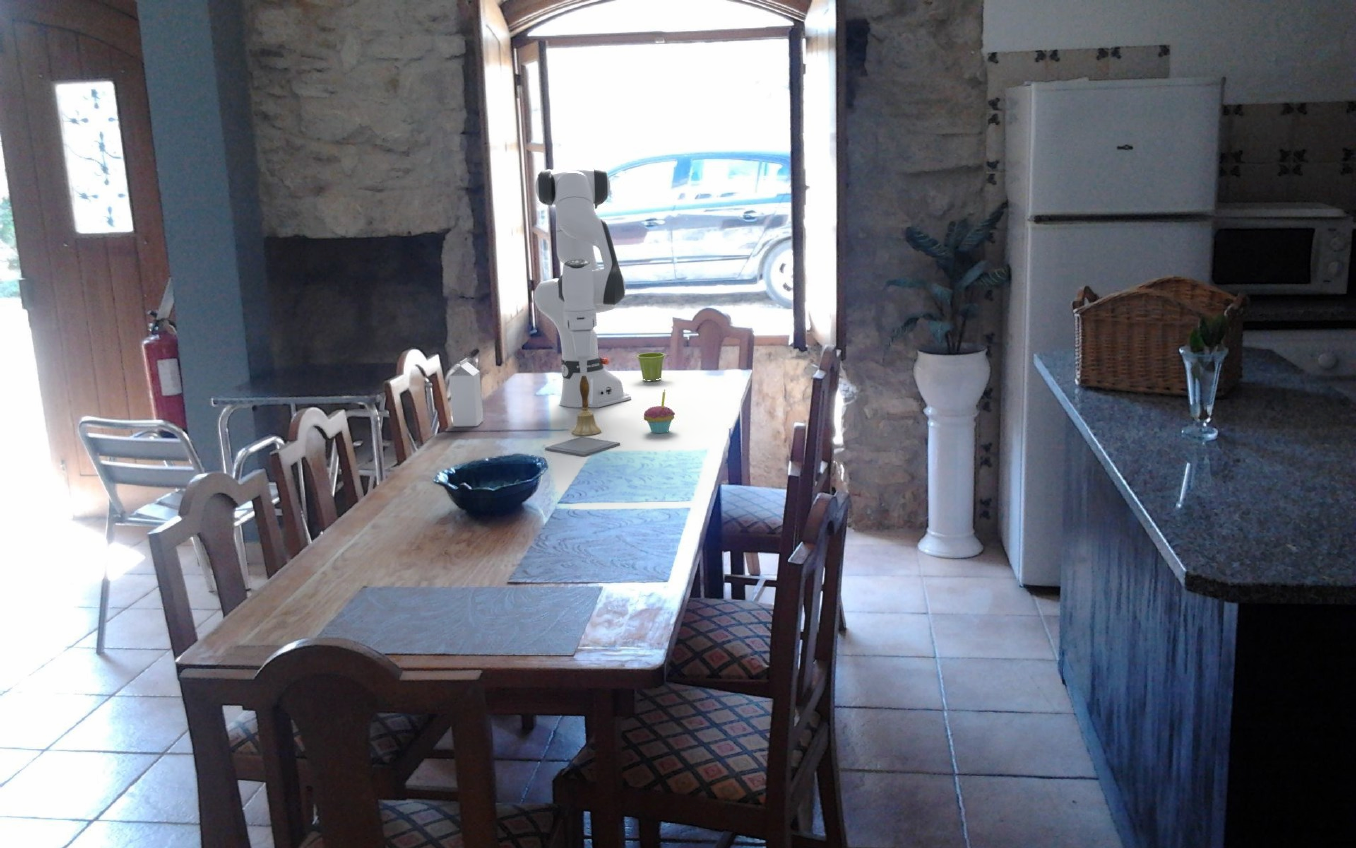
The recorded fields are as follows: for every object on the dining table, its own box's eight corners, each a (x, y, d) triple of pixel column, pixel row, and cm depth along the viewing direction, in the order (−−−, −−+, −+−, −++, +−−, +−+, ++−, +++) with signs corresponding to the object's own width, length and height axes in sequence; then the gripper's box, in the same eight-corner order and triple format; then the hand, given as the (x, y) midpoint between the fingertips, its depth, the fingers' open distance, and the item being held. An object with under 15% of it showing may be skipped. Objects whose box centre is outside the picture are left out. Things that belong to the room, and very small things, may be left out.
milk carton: (483, 421, 343) (478, 357, 338) (477, 426, 336) (472, 361, 331) (460, 421, 343) (454, 358, 339) (453, 427, 337) (447, 362, 332)
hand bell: (571, 429, 328) (568, 374, 324) (601, 428, 328) (598, 372, 325) (571, 436, 320) (568, 379, 316) (601, 435, 320) (598, 378, 317)
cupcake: (679, 428, 324) (677, 386, 321) (669, 435, 316) (667, 392, 313) (650, 427, 327) (648, 385, 324) (639, 434, 319) (637, 391, 316)
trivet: (581, 438, 317) (581, 436, 317) (620, 444, 308) (619, 442, 308) (545, 449, 306) (544, 447, 306) (584, 456, 298) (583, 454, 297)
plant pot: (655, 383, 389) (654, 358, 387) (632, 381, 394) (631, 356, 392) (671, 378, 396) (670, 353, 394) (648, 376, 401) (647, 351, 400)
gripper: (567, 316, 327) (570, 365, 329) (569, 325, 307) (572, 376, 310) (590, 315, 327) (592, 363, 330) (593, 323, 307) (596, 375, 310)
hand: (583, 370), depth 320 cm, fingers open, 8 cm apart
